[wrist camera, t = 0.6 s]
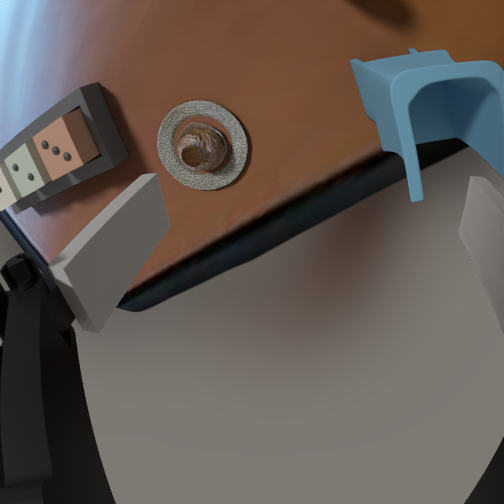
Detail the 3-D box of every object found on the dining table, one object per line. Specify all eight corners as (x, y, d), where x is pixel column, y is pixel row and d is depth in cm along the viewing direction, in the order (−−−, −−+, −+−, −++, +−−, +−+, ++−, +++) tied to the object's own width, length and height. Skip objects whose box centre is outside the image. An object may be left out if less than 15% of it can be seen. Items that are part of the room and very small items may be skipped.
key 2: (20, 149, 40) (3, 160, 37) (43, 133, 37) (24, 143, 34) (38, 186, 43) (21, 198, 40) (61, 173, 41) (44, 185, 38)
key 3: (50, 127, 37) (31, 138, 34) (81, 107, 34) (60, 116, 31) (69, 168, 40) (51, 181, 37) (100, 153, 38) (82, 165, 35)
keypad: (3, 151, 45) (-12, 160, 42) (97, 81, 35) (79, 87, 32) (28, 203, 51) (15, 214, 48) (129, 156, 42) (114, 167, 38)
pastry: (214, 202, 44) (203, 219, 41) (146, 151, 41) (129, 163, 38) (269, 139, 37) (262, 151, 34) (191, 80, 34) (176, 86, 31)
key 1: (-2, 168, 43) (-17, 178, 40) (15, 154, 41) (-2, 165, 37) (14, 200, 46) (0, 211, 43) (32, 189, 44) (16, 201, 41)
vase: (369, 124, 33) (410, 204, 17) (349, 60, 29) (382, 73, 14) (431, 112, 30) (517, 183, 15) (414, 48, 26) (505, 58, 11)
